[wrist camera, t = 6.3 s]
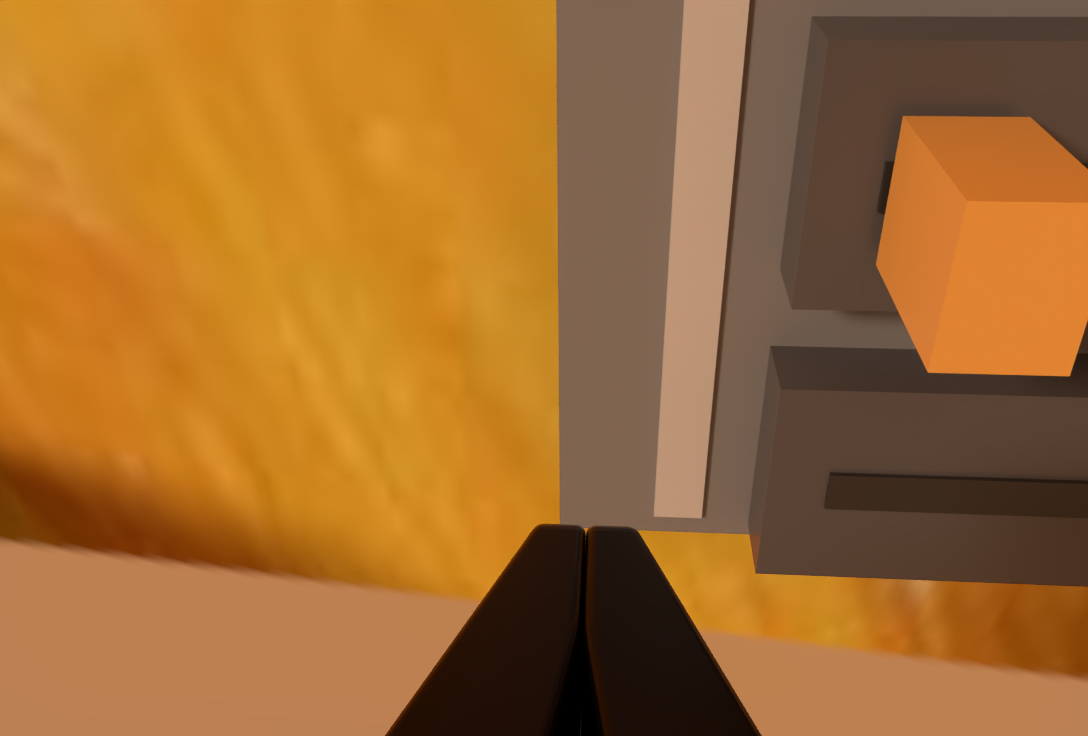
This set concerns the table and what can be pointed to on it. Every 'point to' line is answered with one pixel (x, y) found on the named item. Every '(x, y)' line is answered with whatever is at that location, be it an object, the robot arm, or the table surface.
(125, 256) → the table surface
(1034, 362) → the handle
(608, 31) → the panel
